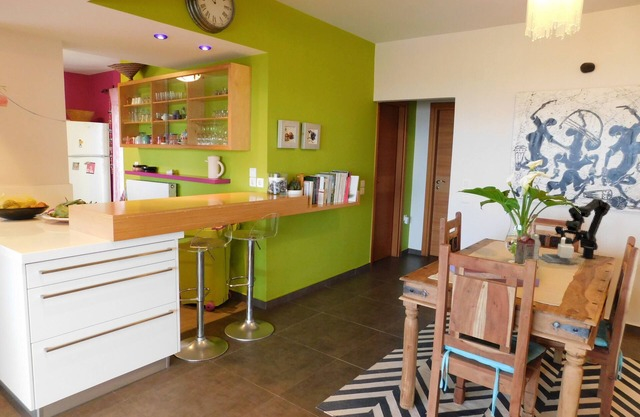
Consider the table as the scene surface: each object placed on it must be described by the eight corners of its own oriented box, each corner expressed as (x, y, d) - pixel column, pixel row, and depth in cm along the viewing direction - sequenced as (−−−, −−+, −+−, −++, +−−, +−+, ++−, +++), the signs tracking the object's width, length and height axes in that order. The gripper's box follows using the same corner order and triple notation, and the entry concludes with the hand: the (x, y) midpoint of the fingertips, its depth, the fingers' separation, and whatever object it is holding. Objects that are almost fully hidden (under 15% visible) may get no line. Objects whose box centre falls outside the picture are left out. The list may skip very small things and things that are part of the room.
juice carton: (522, 273, 242) (526, 235, 238) (513, 269, 248) (517, 232, 245) (531, 272, 243) (535, 234, 240) (523, 269, 250) (527, 232, 247)
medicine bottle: (569, 255, 268) (571, 237, 266) (573, 258, 261) (575, 239, 259) (556, 254, 269) (558, 236, 268) (560, 257, 263) (562, 238, 261)
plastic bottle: (539, 268, 252) (543, 235, 249) (527, 267, 253) (531, 234, 250) (536, 266, 258) (540, 233, 255) (524, 265, 259) (528, 232, 256)
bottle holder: (537, 257, 280) (538, 253, 279) (562, 258, 279) (563, 254, 279) (548, 263, 266) (548, 258, 265) (574, 264, 265) (575, 259, 265)
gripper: (557, 213, 272) (547, 232, 267) (589, 218, 257) (579, 238, 252) (562, 224, 278) (552, 242, 273) (593, 229, 263) (583, 249, 258)
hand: (566, 243), depth 264 cm, fingers closed on medicine bottle, 6 cm apart
